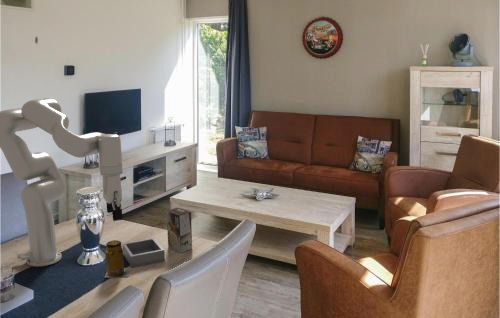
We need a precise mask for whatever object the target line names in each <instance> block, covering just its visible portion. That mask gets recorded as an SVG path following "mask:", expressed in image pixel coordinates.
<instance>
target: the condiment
mask: <svg viewBox="0 0 500 318" xmlns="http://www.w3.org/2000/svg"><path fill="white" fill-rule="evenodd" d="M105 246H106V250H105V258H106V273H105V276H104V278H107V279H108V278H111V279H112V278H122V277H125V278H126V277H129V276H130V273H131V271H132V270H131V269H132V267H125V261H124V255H123V246H122V241H120V240H118V239H116V240H110V241H108V242H107V243H106V245H105Z"/></svg>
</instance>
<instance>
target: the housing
mask: <svg viewBox="0 0 500 318" xmlns="http://www.w3.org/2000/svg"><path fill="white" fill-rule="evenodd" d="M121 246H122V249H123V257H124V258H125V260H126V261H127V263H128V264H129V266H130V268H131V269H133V268H138V267H141V266H146V265H151V264H156V263H160V262H165V261H166V258H165V257H166V256H165V255H166V254H165V249H164V248H163V247H162V245H160V243H159V242H158V241H157V239H156V238H154V237H153V238H152V237H151V238H146V239H141V240H134V241H129V242H124V243H121Z"/></svg>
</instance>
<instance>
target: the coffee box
mask: <svg viewBox="0 0 500 318" xmlns="http://www.w3.org/2000/svg"><path fill="white" fill-rule="evenodd" d="M166 227H167V245H168V247H167V248H169V249H172V250H174V251H176V252H178V253H182V254H183V253H185V252H187V250H188V251H190V250H193V235H192V232H193V231H192V229H193V228H192V211H188V210H186V209H183V208H180V207H176V208H172V209H169V210H167V211H166Z"/></svg>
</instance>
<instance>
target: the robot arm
mask: <svg viewBox="0 0 500 318" xmlns="http://www.w3.org/2000/svg"><path fill="white" fill-rule="evenodd" d="M69 125H70V119H69V117H68V116H67V115H66V114H64V113H62V108H61V105H60V103H59V102H58V101H57V100H55V99H53V98H40V99H38V98H37V99H31V100H28V101H27V102H25V103H24V104H23V105H22V107H21V108H20V107H17V108H10V109H5V110H0V150H1V151H2V154H3V155H4V158H5V159H6V162H7V164H8V166H9V167H10V169H11V172H12V173H13V176H14V177H15V178H16V179H17V180H18V181H20V182H27V181H31V180H34V179H37V178H39V180H37V181H36V180H35V181H33V182H31V183H29V184H27V185H25V186H23V188H22V190H21V191H20V199H21V203H22V205H23V209H24V213H25V220H26V227H27V237H28V245H29V246H28V247H29V248H28V251H26V252H23V253H22V252H21V253H17V254H16V257H17V259H18V260H20V259H21V261H25V260H26V264H27V265H28V266H30V267H37V268H38V267H46V266H50V265H53V264H56V263H57V262H59V261H60V260H61V259H62V257H63V256H62V253H61V252H60V251H58V249H57V240H56V239H57V238H56V231H55V229H56V228H55V219H54V214H53V211H52V210H51V208H50V207H49V206H48V205H49V204H51V203H53V202H56V201H58V200H60V199H63V197H64V196H65V194H66V191H67V188H66V184H65V181H64V179H63V177H62V175H61V173H60V170H59V169H58V165H56V162H55V161H54V159H53V158H52V156H51V155H50V154H48V153H47V152H44V151H38V152H37V151H36V152H33V153H32V152H31V151H30V149H29V146H28V145H27V143H26V141H25V140H24V139H22V138H21V137H20V136H19V135H17V134H16V132H22V131H27V130H28V131H29V130H33V129H37V128H39V129H41V130H43V131H44V132H46V133H48V135H51V136H52V140H53V142H54V143H55V145H56V146H57V147H58V148H59V149H60V150H62V151H63V152H64V153H65V152H66V154H68V155H70V156H73V157H75V158H86V157H88V156H92V155H97V154H98V158H99V159H98V161H99V174H100V176H102V197H103V199H104V201H105V202H106V212H107V213H108V214H110V213H112V221H113V222H115V221H122V220H123V209H122V208H123V207H122V203H121V202H123V193H122V192H123V191H122V183H121V182H122V181H121V180H122V179H121V175H123V172H124V170H123V157H122V156H123V155H122V143H121V137H120V135H118V134H116V133H115V134H114V133H112V134H111V133H107V134H106V133H102V132H97V131H94V132H89V133H85V134H80V135H78V134H75V133H74V132H72V131H69V130H68V128H69Z"/></svg>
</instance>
